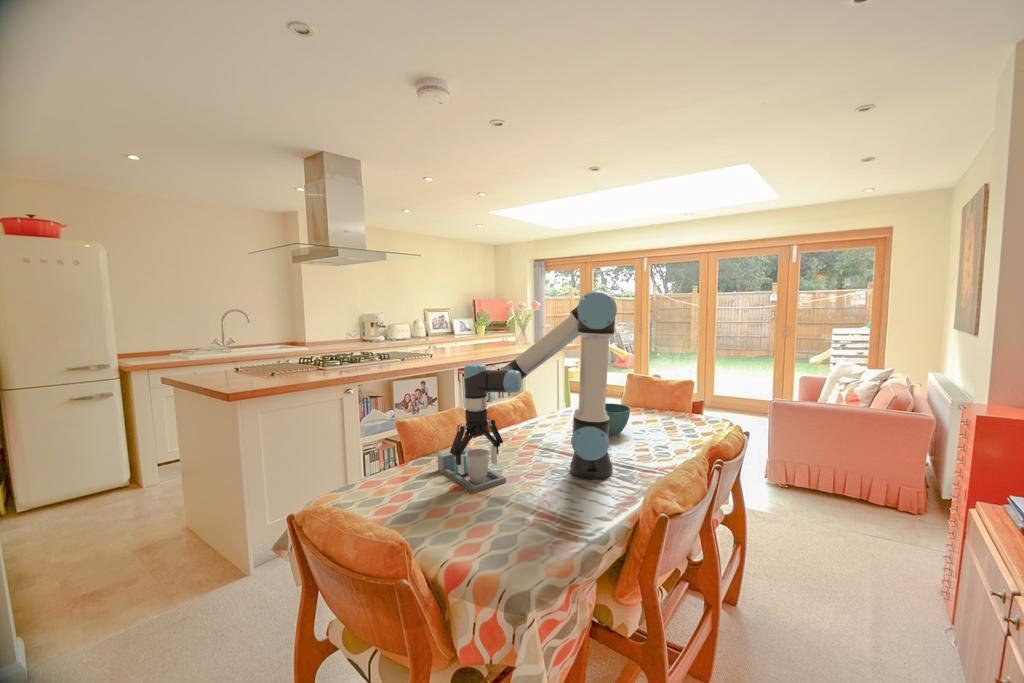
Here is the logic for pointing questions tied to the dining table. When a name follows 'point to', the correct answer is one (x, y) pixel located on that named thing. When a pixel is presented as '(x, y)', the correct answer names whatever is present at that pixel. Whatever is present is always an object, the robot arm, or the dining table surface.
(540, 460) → the dining table surface
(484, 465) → the cup
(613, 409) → the teal bowl
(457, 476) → the tray
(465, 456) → the block
